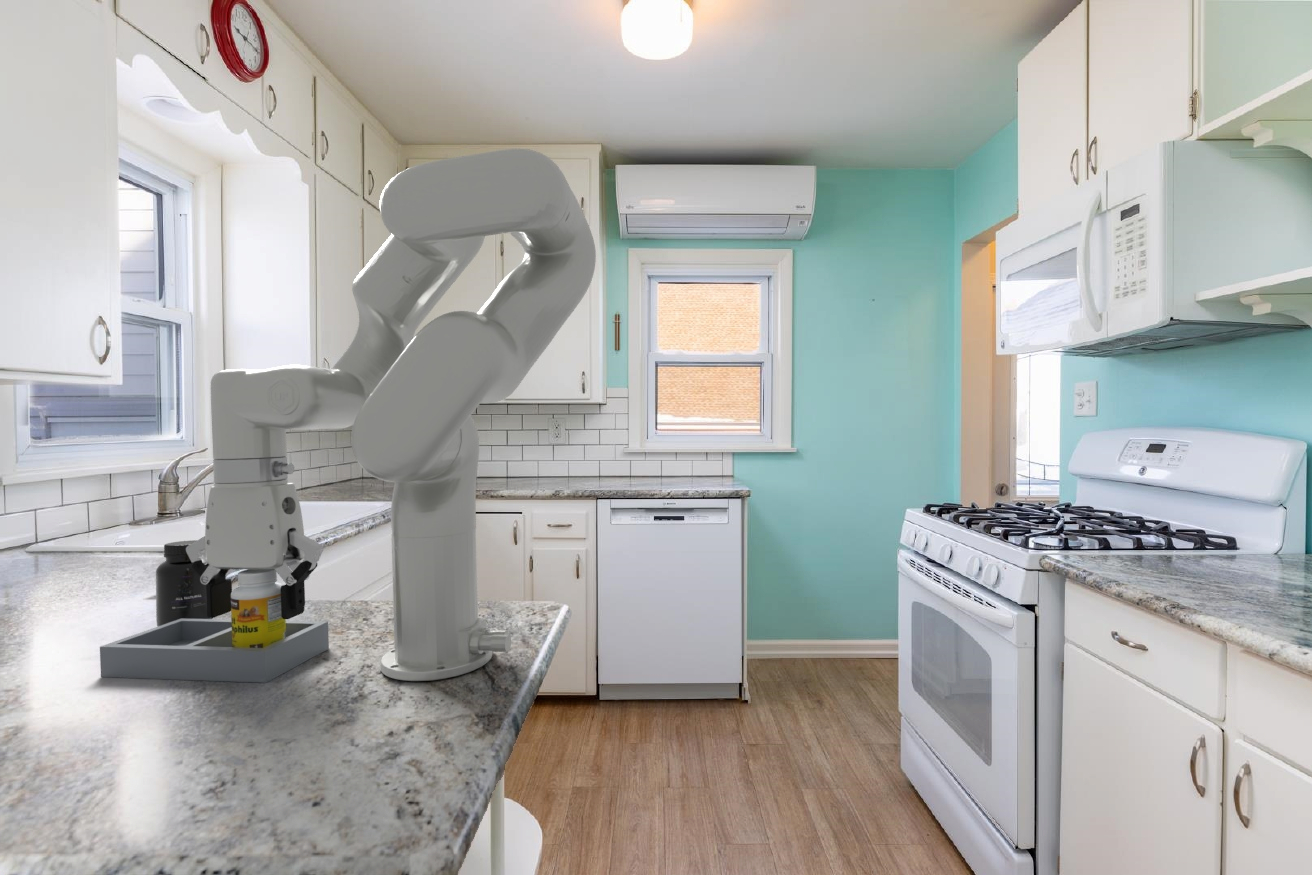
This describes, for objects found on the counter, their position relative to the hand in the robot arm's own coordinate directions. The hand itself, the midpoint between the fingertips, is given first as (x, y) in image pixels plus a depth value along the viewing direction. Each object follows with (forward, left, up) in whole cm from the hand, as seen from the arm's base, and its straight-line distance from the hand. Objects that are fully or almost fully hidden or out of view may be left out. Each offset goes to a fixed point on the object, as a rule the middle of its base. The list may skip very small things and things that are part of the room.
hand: (256, 615), depth 79 cm
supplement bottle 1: (+23, -14, -6) cm, 28 cm away
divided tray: (+5, 0, -6) cm, 8 cm away
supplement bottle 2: (0, 0, -5) cm, 5 cm away
